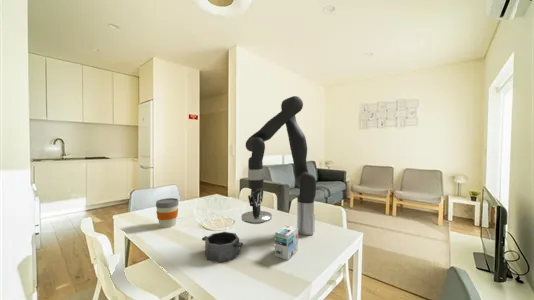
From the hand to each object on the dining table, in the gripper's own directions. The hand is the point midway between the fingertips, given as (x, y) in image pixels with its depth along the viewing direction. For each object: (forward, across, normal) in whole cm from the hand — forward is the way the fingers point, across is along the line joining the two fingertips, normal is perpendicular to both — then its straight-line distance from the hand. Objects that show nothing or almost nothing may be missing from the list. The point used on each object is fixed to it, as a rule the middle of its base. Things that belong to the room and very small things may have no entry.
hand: (256, 212), depth 110 cm
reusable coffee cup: (+15, +3, +61) cm, 62 cm away
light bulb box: (+16, -4, -16) cm, 23 cm away
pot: (+15, -15, +11) cm, 24 cm away
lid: (+4, 0, 0) cm, 4 cm away
